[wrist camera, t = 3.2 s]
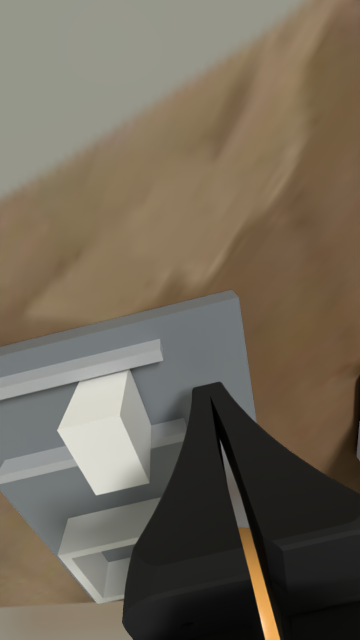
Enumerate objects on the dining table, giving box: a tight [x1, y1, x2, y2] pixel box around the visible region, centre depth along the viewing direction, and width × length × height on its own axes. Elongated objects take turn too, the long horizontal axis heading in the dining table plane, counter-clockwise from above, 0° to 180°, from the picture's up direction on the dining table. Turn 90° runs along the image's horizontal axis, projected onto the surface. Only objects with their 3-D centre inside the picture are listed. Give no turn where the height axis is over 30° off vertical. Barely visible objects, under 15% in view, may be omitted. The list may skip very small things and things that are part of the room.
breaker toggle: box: [57, 369, 151, 495], centre depth 12 cm, size 2×4×3 cm, turn 13°
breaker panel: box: [0, 290, 257, 604], centre depth 16 cm, size 16×24×3 cm, turn 13°
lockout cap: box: [238, 527, 280, 640], centre depth 17 cm, size 4×4×6 cm
